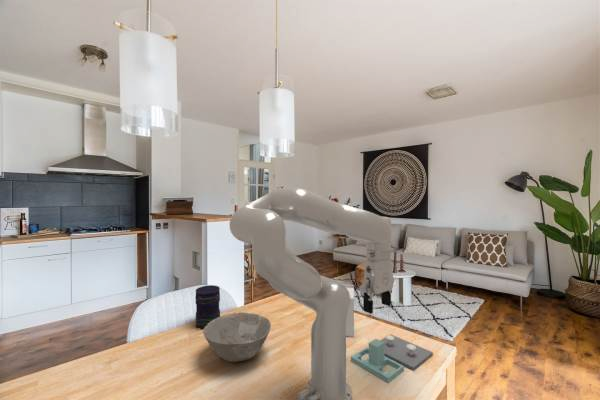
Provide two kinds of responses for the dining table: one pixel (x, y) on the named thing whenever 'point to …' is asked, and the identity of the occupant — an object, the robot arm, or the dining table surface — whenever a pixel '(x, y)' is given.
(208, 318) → the storage jar
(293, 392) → the dining table surface
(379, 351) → the teal frame with block
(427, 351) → the board
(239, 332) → the ceramic bowl
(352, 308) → the milk carton
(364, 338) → the dining table surface
